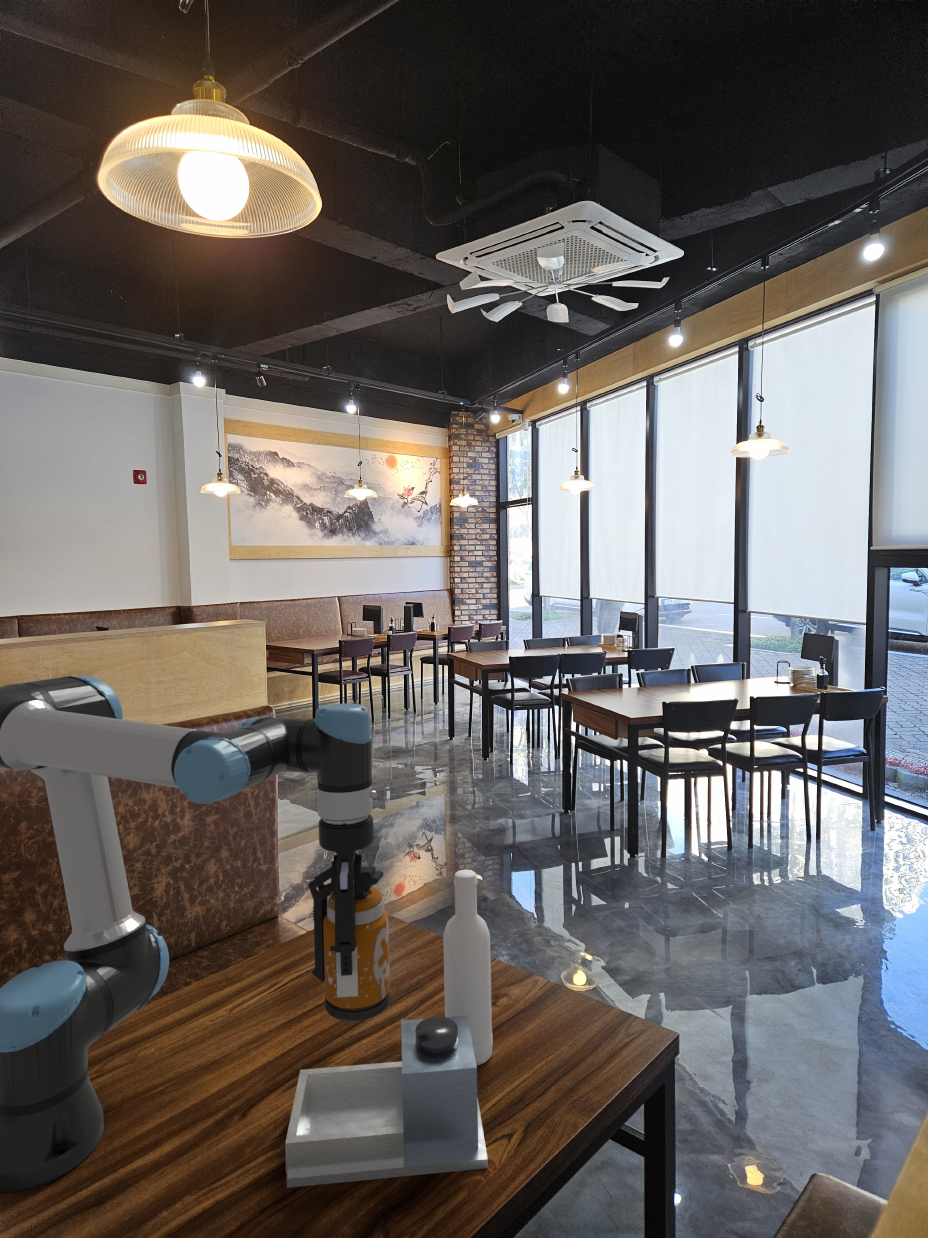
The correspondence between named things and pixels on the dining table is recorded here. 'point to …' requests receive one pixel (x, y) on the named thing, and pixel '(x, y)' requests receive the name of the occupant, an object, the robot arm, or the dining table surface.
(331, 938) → the canister
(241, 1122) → the dining table surface
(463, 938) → the bottle
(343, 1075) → the grey holder tray
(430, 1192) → the dining table surface
